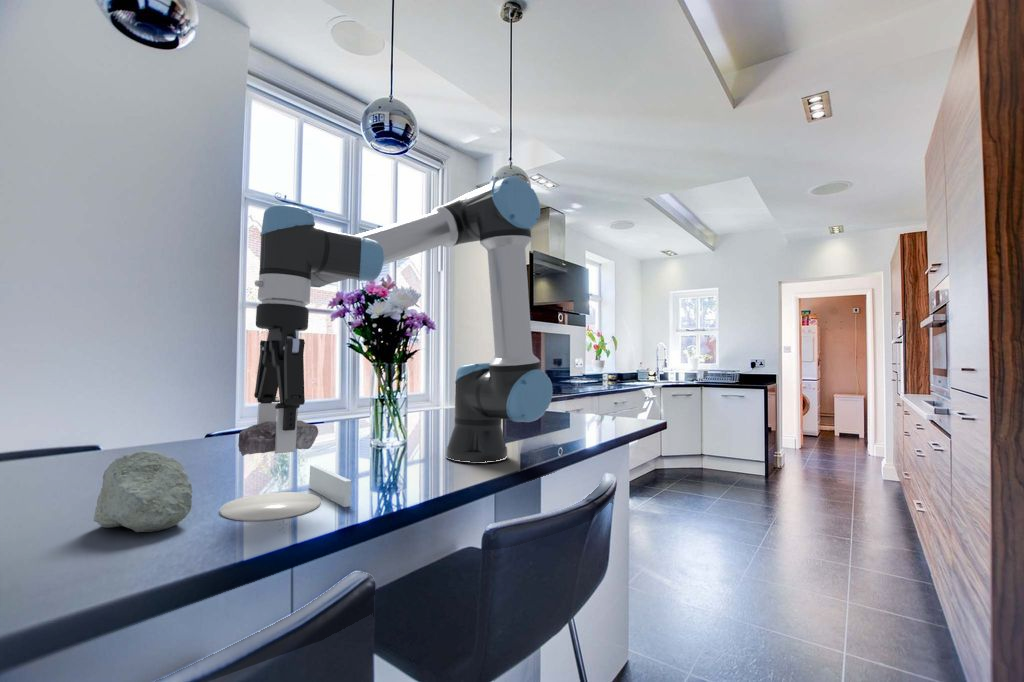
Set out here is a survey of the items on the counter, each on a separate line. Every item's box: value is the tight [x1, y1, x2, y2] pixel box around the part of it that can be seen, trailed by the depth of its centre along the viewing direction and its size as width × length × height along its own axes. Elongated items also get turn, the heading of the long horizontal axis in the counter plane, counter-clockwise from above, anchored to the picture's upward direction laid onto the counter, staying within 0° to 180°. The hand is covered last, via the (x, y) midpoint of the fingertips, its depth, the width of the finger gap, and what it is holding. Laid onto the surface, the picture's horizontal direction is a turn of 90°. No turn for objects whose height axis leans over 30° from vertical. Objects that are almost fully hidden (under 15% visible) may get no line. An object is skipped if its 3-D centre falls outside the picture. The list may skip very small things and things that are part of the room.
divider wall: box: [308, 464, 352, 508], centre depth 81 cm, size 1×15×4 cm, turn 43°
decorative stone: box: [93, 449, 193, 533], centre depth 65 cm, size 13×11×10 cm
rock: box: [237, 420, 319, 457], centre depth 75 cm, size 8×11×5 cm
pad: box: [219, 491, 322, 522], centre depth 75 cm, size 14×14×1 cm
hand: (274, 447), depth 75 cm, fingers closed on rock, 9 cm apart
